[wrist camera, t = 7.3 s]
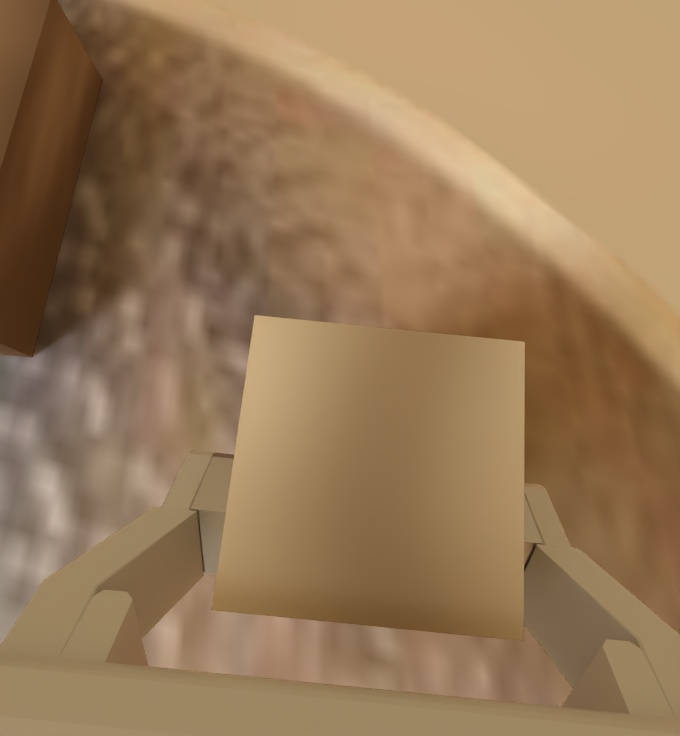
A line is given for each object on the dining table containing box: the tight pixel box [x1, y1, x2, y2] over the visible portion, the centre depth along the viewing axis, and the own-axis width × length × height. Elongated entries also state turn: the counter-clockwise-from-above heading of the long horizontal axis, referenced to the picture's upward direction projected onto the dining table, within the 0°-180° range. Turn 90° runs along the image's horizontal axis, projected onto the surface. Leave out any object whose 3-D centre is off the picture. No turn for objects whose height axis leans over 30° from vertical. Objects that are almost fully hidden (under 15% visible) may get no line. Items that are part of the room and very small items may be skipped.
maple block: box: [212, 315, 525, 641], centre depth 11 cm, size 4×4×8 cm
